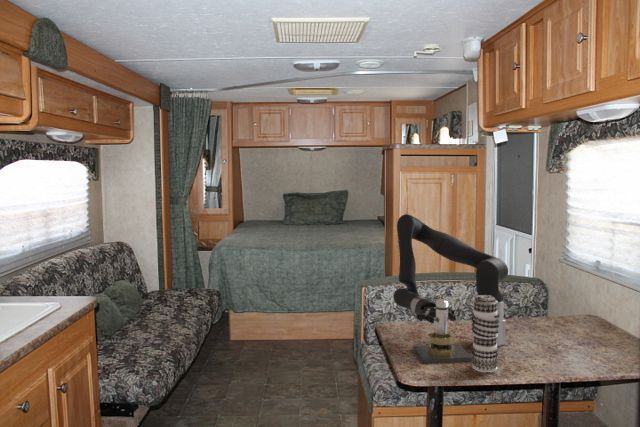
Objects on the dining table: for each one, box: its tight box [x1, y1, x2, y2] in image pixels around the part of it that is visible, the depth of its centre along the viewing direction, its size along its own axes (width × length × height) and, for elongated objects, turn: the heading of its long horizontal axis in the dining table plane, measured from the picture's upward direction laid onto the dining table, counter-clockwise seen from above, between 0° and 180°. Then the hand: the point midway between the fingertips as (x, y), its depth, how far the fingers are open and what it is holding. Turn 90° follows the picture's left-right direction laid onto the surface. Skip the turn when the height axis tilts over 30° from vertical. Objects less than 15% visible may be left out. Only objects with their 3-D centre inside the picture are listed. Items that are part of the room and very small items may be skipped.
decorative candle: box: [470, 295, 500, 373], centre depth 173 cm, size 9×9×25 cm
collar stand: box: [411, 331, 473, 365], centre depth 186 cm, size 18×14×8 cm
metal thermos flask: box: [434, 298, 449, 349], centre depth 185 cm, size 4×4×19 cm
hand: (443, 319), depth 183 cm, fingers open, 8 cm apart
